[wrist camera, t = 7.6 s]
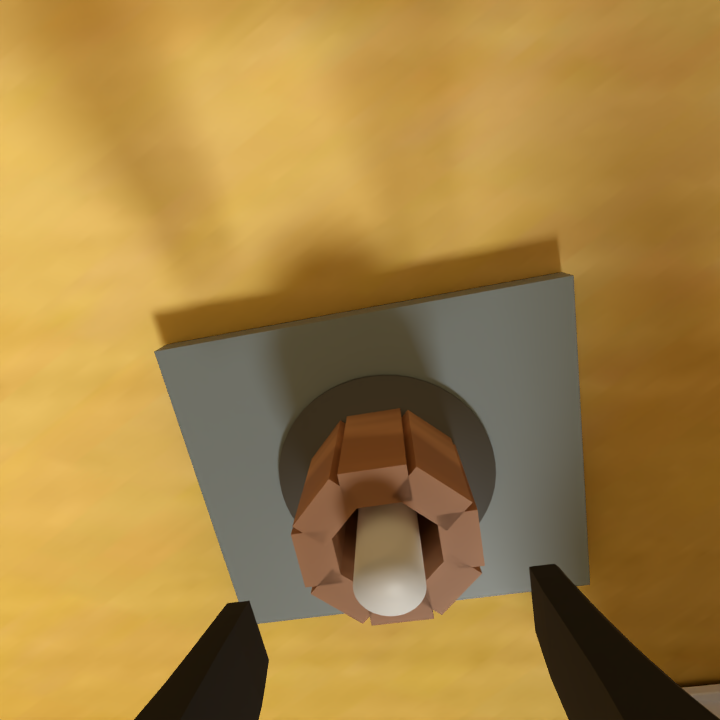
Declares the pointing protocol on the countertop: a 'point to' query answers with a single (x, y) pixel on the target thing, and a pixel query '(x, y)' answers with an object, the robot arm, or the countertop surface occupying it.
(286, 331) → the post board
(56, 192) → the countertop surface
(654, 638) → the countertop surface
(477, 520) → the collar
